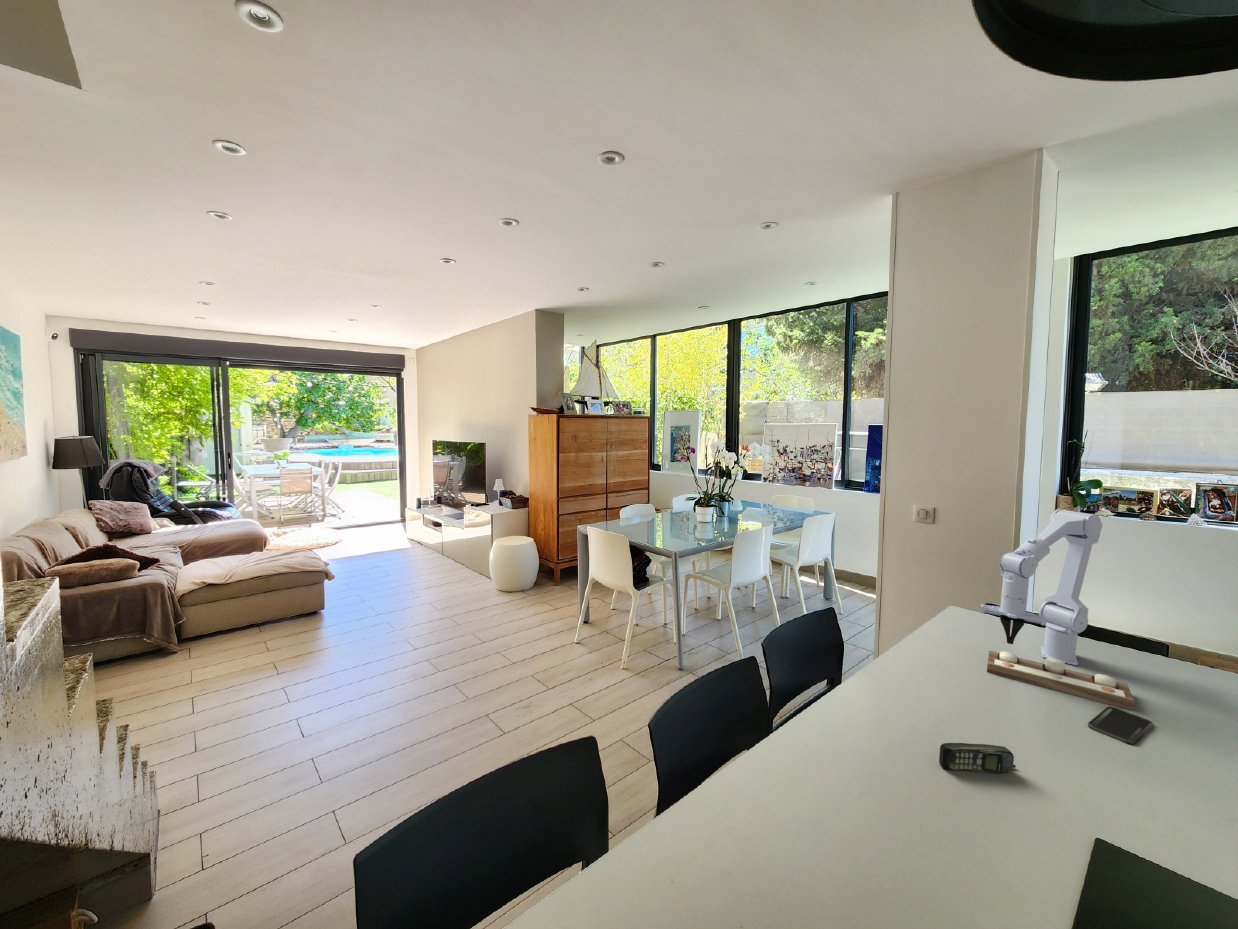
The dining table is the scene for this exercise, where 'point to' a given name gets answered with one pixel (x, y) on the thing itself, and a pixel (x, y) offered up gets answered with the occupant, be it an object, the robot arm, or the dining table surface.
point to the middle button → (1055, 665)
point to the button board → (1061, 686)
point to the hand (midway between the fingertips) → (1009, 642)
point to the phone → (1120, 725)
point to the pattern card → (1060, 678)
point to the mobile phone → (975, 757)
